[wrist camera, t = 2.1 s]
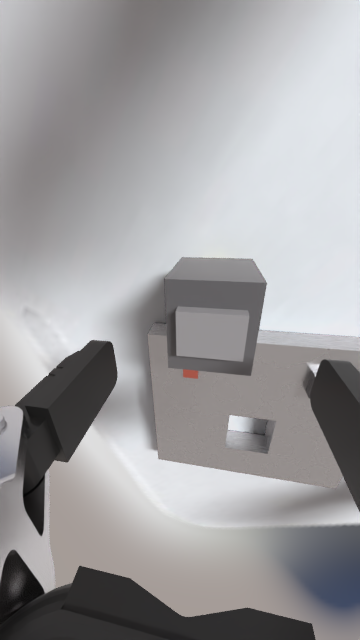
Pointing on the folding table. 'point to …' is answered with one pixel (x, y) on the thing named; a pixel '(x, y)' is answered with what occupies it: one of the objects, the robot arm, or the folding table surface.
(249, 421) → the folding table surface
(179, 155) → the folding table surface
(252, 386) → the socket plate
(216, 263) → the plug
